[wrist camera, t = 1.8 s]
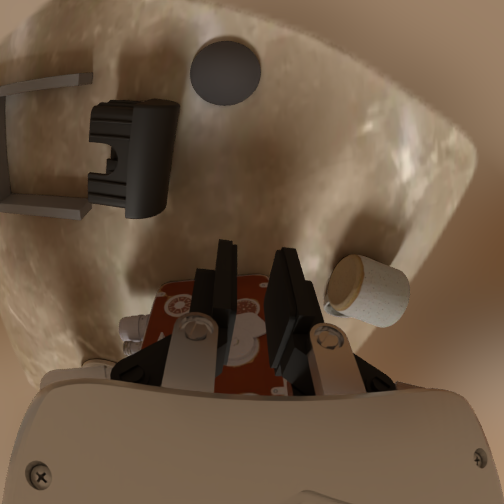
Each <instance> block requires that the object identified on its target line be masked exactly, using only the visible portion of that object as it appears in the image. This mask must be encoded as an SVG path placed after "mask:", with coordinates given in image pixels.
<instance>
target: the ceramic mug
mask: <svg viewBox="0 0 504 504" xmlns="http://www.w3.org/2000/svg"><path fill="white" fill-rule="evenodd" d="M409 296H410V285H409V281H408V279H407V277H406V275H405V274H404V273H403V272H402V271H400V270H398V269H395V268H393V267H390V266H388V265H385V264H383V263H380V262H377V261H375V260H373V259H370V258H368V257H365V256H361V255H356V254H353V255H348V256H346V257H345V258H343V259H342V260H341V261H340V262H339V263H338V264H337V266H336V267H335V269H334V271H333V273H332V275H331V278H330V281H329V285H328V293H327V295H326V296H325V298H324V310H325V311H326V312H327V313H328V314H330V315H333V316H336V317H343V318H349V317H352V318H356V319H359V320H361V321H363V322H366V323H369V324H372V325H375V326H378V327H388V326H391V325H393V324H394V323H396V322H397V321H398V320H399V319H400V318H401V316H402V315H403V313H404V311H405V309H406V307H407V305H408V302H409Z"/></svg>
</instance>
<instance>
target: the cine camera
mask: <svg viewBox="0 0 504 504" xmlns="http://www.w3.org/2000/svg"><path fill="white" fill-rule="evenodd" d="M194 281H195V280H187V281H176V282H169V283H166V284H164V285H162V286H161V287H160V289H159V290H158V292H157V295H156V297H155V300H154V302H153V306H152V309H151V312H150V314H148V315H146V316H145V315H138V316H131V317H124V318H122V319H121V320H120V322H119V334H120V337H121V339H122V340H123V341H125V342H124V343H123V351H124V354H125V355H126V356H130V355H132V354H134V353H136V352H138V351H140V350H142V349H144V348H146V347H147V346H149V345H151V344H153V343H155V342H157V341H159V340H161V339H163V338H164V337H166V336H168V335H170V334H172V332H173V328H174V324H175V322H176V320H177V319H178V318H179V317H180V316H181V315H184V314H186V313H189V310H190V304H191V298H192V292H193V287H194ZM268 282H269V278H268V277H267V276H265V275H262V274H254V275H241V276H237V314H236V320H235V325H234V330H233V336H232V341H231V346H230V351H229V357H228V362H227V365H223V370H222V373H221V374H220V375H218V376H217V377H215V383H214V393H223V394H239V395H260V396H288V393H287V380H286V379H284V378H283V377H282V376H275V372H274V368H270V365H269V356H268V346H267V336H266V326H265V316H264V306H263V305H264V297H265V293H266V289H267V285H268Z"/></svg>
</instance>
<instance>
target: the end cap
mask: <svg viewBox="0 0 504 504" xmlns="http://www.w3.org/2000/svg"><path fill="white" fill-rule="evenodd" d="M179 110H180V105H179V104H178V103H176V102H173V101H168V100H162V99H151V100H147V101H144V102H143V101H130V100H110V101H109V102H107V103H104V102H101V103H99V104H98V105H96V106H94V107H93V109H92V111H91V119H90V132H89V142H96V143H105V144H108V145H110V146H112V147H111V159H109V158H108V159H107V166H106V174H101V173H92V172H90V173H88V202H89V203H93V204H100V205H107V206H113V207H120V208H125V218H129V219H143V218H149V217H153V216H156V215H158V214H160V213H161V212H162V211H163V210H164V209H165V208H166V204H167V195H168V186H169V178H170V170H171V162H172V155H173V148H174V141H175V134H176V128H177V122H178V116H179Z"/></svg>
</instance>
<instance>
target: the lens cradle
mask: <svg viewBox="0 0 504 504" xmlns="http://www.w3.org/2000/svg"><path fill="white" fill-rule="evenodd" d="M92 77H93V73H79V74H69V75H61V76H53V77H46V78H40V79H34V80H28V81H23V82H18V83H13V84H9V85H4V86H0V212H3V213H14V214H24V215H34V216H44V217H54V218H63V219H73V220H82V219H83V217H84V216H85V215H86V214H87V213H88V212H89V211H90V210H91V209H92V205H91V203H89V202H88V199H87V198H74V197H61V196H46V195H30V194H12V193H11V188H10V180H9V172H8V162H7V151H6V134H5V96H6V95H11V94H17V93H22V92H28V91H35V90H42V89H50V88H58V87H68V86H79V85H86V84H92Z"/></svg>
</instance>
